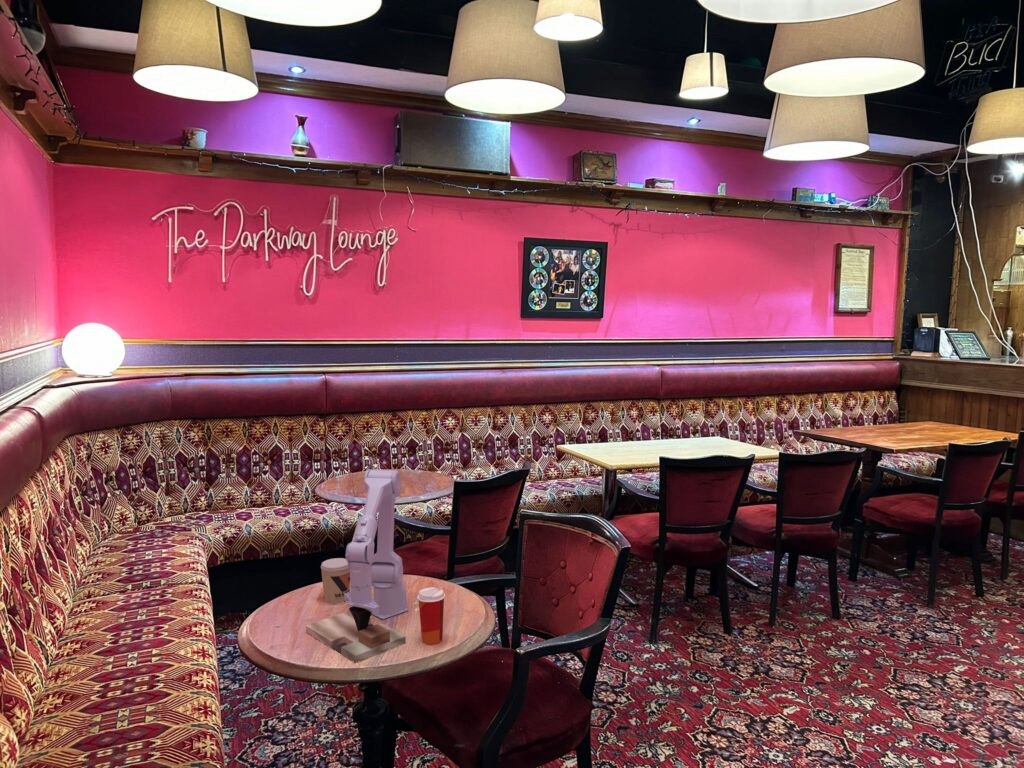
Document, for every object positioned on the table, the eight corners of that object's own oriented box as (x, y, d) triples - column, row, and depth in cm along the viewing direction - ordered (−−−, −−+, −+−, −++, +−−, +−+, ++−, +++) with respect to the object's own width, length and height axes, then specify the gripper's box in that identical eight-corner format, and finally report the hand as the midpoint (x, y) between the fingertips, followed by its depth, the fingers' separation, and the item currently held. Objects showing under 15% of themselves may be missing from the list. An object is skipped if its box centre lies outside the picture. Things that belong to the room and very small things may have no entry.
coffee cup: (334, 607, 224) (333, 569, 223) (315, 600, 230) (314, 563, 229) (358, 597, 232) (357, 561, 231) (339, 591, 237) (337, 555, 236)
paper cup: (432, 632, 206) (431, 584, 205) (451, 639, 201) (450, 590, 200) (412, 641, 200) (410, 593, 199) (431, 649, 195) (430, 599, 194)
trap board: (354, 615, 218) (354, 609, 218) (405, 643, 200) (405, 636, 199) (306, 632, 207) (305, 625, 207) (355, 663, 188) (355, 655, 188)
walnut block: (377, 634, 200) (377, 624, 200) (390, 641, 196) (389, 630, 196) (358, 641, 196) (358, 631, 196) (371, 648, 192) (370, 638, 192)
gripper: (334, 581, 201) (335, 628, 203) (363, 595, 191) (364, 644, 192) (356, 574, 206) (357, 620, 208) (385, 588, 196) (386, 636, 197)
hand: (362, 631), depth 200 cm, fingers closed
